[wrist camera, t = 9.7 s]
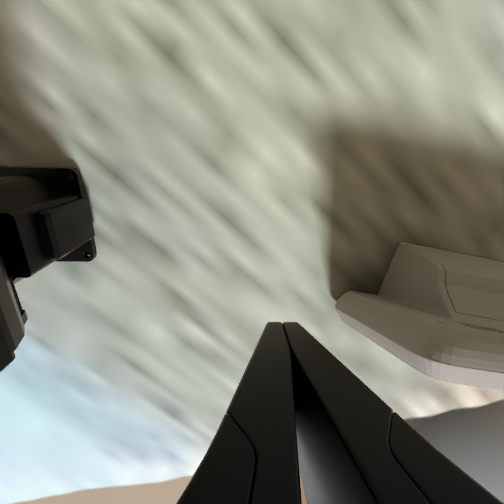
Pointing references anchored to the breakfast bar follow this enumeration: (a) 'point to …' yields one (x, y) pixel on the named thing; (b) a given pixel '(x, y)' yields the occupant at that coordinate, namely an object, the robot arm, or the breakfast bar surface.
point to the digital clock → (437, 314)
